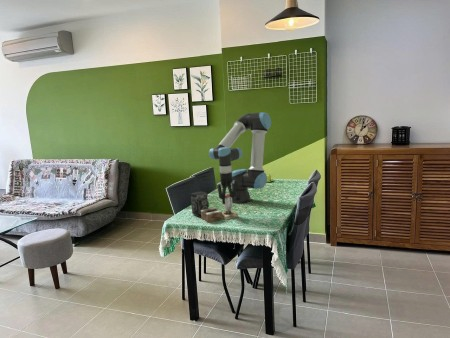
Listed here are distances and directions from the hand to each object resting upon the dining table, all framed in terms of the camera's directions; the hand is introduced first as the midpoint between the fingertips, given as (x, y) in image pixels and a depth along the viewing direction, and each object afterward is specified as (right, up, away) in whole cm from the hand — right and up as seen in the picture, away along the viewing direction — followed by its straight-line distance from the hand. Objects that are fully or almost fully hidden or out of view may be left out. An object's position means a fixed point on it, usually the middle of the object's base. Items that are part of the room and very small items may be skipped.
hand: (228, 207), depth 216 cm
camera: (-18, -6, +7) cm, 20 cm away
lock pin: (0, -4, +1) cm, 5 cm away
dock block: (-10, -7, -3) cm, 13 cm away
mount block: (0, -5, +1) cm, 5 cm away
